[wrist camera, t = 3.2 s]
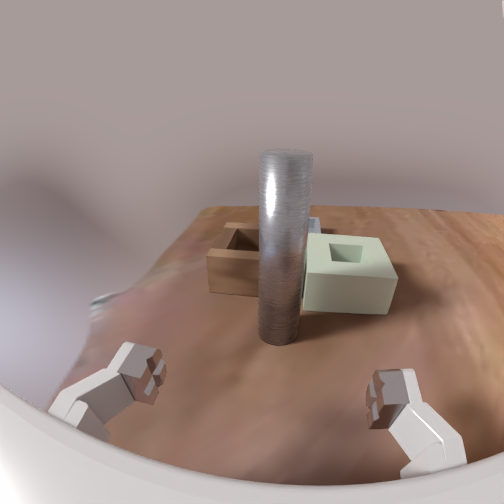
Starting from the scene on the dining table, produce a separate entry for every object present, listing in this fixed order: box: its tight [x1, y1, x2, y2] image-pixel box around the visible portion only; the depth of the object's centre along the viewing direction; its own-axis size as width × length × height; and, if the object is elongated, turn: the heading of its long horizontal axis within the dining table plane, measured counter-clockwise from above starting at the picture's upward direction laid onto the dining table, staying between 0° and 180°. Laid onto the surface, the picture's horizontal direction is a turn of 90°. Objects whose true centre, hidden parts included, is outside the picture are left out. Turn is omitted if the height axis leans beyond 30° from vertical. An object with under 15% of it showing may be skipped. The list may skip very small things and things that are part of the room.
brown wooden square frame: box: [206, 222, 259, 297], centre depth 30 cm, size 8×8×4 cm
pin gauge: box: [258, 149, 313, 346], centre depth 20 cm, size 3×3×14 cm
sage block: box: [303, 233, 398, 315], centre depth 27 cm, size 8×8×4 cm
